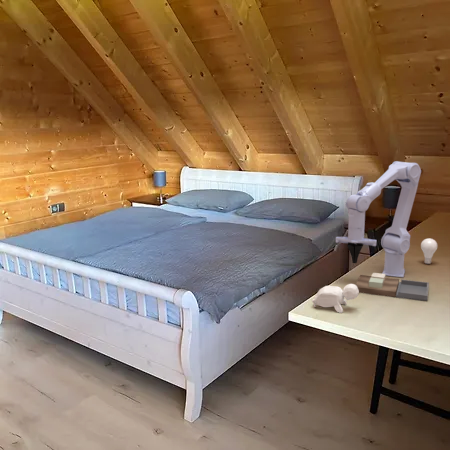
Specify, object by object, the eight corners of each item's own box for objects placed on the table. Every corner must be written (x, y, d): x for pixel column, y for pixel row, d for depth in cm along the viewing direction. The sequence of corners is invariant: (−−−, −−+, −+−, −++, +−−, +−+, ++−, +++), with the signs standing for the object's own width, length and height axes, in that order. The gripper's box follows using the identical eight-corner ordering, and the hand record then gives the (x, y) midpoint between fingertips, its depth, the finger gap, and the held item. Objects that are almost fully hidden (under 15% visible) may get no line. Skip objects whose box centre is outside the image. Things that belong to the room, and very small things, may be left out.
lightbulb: (426, 266, 197) (428, 241, 194) (416, 262, 203) (418, 237, 200) (439, 265, 198) (441, 239, 196) (429, 261, 204) (431, 236, 202)
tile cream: (372, 277, 179) (373, 272, 179) (385, 279, 177) (385, 274, 177) (371, 281, 175) (371, 276, 175) (383, 283, 173) (384, 277, 173)
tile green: (370, 282, 174) (370, 277, 174) (383, 284, 172) (383, 279, 172) (368, 286, 170) (369, 281, 170) (381, 288, 168) (382, 283, 168)
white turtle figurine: (316, 318, 157) (361, 309, 150) (307, 294, 156) (351, 284, 149) (322, 309, 164) (365, 299, 157) (314, 286, 164) (356, 275, 157)
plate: (360, 279, 183) (360, 274, 183) (398, 284, 178) (399, 279, 177) (354, 292, 171) (354, 286, 170) (395, 297, 165) (395, 291, 165)
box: (399, 284, 177) (399, 279, 177) (428, 287, 173) (428, 282, 173) (395, 297, 165) (396, 291, 165) (427, 301, 161) (427, 295, 161)
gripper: (334, 228, 175) (333, 263, 178) (375, 231, 169) (373, 267, 172) (338, 224, 181) (336, 258, 184) (377, 226, 175) (376, 262, 178)
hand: (354, 262), depth 179 cm, fingers closed
